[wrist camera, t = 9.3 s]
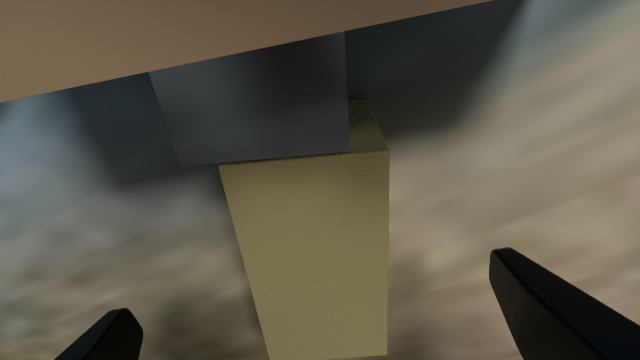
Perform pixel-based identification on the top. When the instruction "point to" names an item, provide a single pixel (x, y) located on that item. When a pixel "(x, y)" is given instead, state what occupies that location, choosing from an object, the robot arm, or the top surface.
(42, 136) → the top surface
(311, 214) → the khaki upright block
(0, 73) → the beam
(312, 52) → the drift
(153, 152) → the top surface
